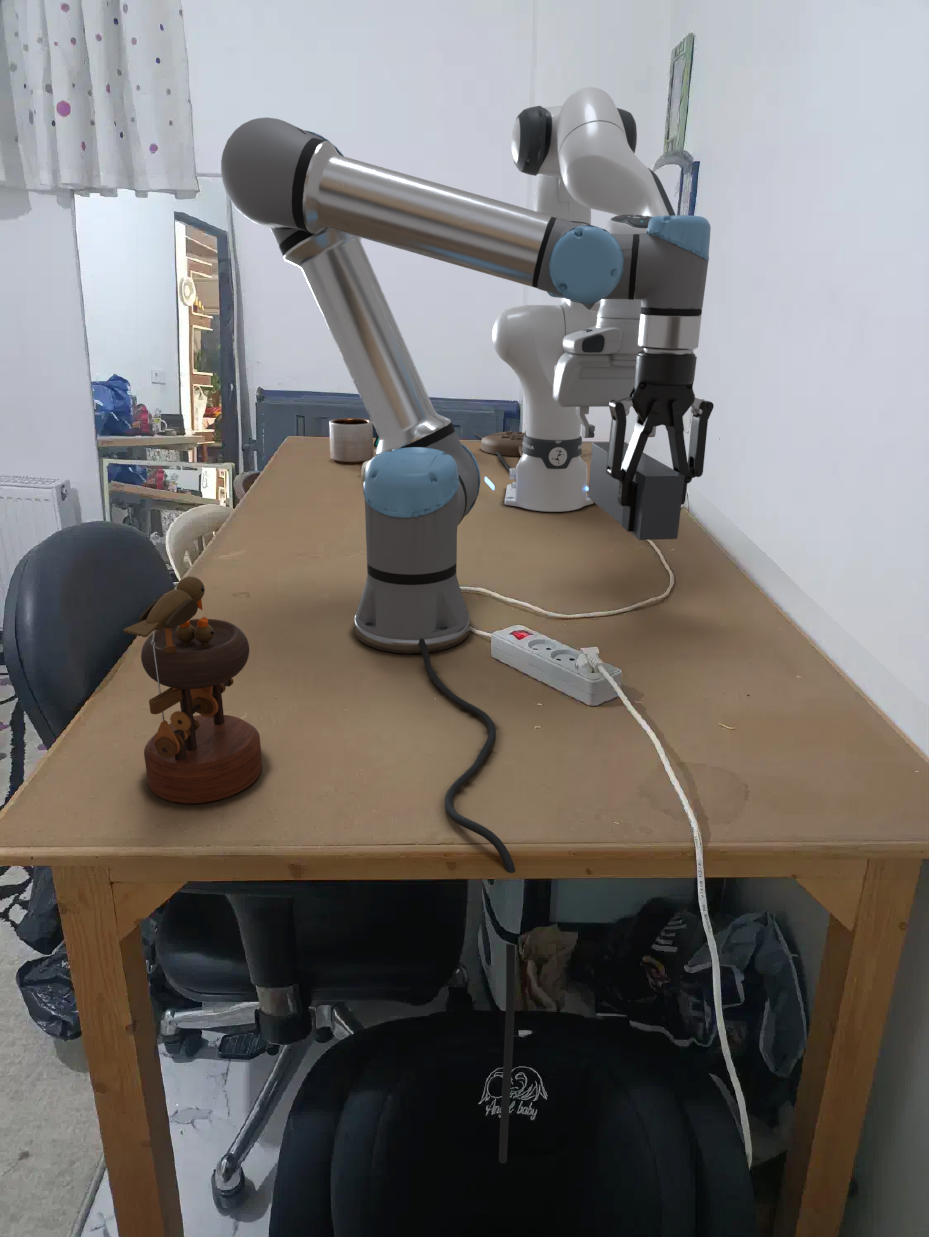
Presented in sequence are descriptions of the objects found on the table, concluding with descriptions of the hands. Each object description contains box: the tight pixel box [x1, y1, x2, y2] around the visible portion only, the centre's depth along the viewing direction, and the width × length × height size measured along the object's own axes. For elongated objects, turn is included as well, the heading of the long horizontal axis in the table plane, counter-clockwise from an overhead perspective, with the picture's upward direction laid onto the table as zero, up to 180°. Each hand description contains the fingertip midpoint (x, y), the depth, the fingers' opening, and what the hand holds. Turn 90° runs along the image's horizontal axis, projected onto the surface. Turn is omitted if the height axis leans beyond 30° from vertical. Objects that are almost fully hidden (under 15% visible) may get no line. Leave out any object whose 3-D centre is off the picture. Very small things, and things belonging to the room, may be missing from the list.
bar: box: [587, 441, 685, 541], centre depth 121 cm, size 23×5×8 cm, turn 9°
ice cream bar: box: [480, 430, 526, 458], centre depth 223 cm, size 21×28×4 cm
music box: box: [122, 575, 263, 804], centre depth 78 cm, size 15×11×20 cm
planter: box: [328, 417, 375, 464], centre depth 212 cm, size 11×11×10 cm
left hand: (648, 527), depth 116 cm, fingers closed on bar, 5 cm apart
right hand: (618, 437), depth 126 cm, fingers open, 8 cm apart
